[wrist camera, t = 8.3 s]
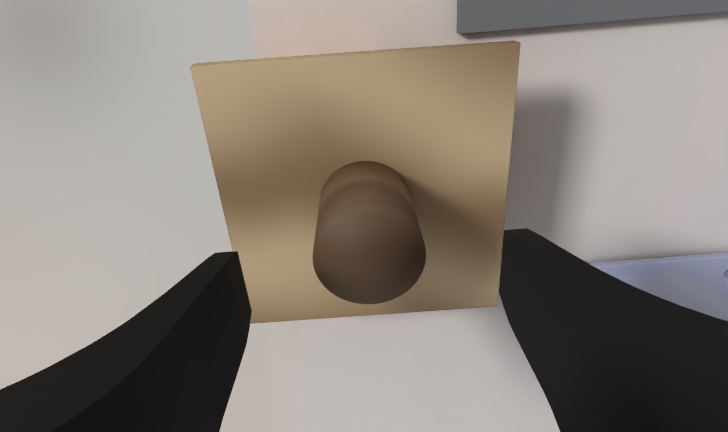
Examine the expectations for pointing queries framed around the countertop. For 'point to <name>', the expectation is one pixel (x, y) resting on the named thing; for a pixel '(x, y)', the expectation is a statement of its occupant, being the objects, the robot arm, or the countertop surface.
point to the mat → (570, 12)
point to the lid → (364, 176)
